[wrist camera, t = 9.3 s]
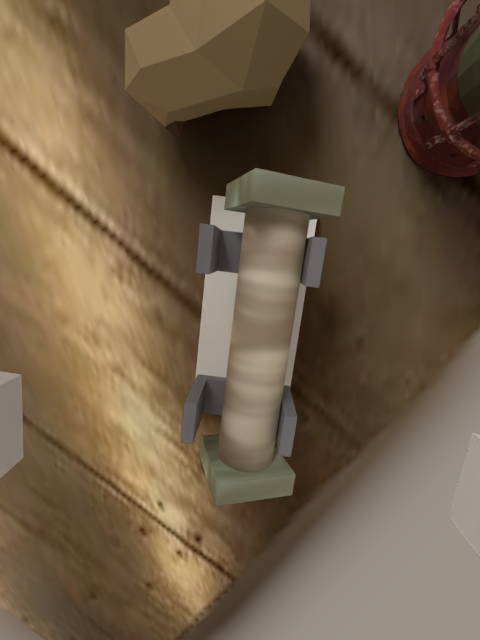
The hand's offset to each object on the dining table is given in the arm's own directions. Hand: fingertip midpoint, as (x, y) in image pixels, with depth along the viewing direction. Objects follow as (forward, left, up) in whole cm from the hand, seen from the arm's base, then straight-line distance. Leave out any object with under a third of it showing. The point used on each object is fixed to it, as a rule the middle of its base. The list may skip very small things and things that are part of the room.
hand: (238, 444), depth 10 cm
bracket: (0, 0, -22) cm, 22 cm away
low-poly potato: (-20, -5, -22) cm, 30 cm away
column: (0, 0, -15) cm, 15 cm away
